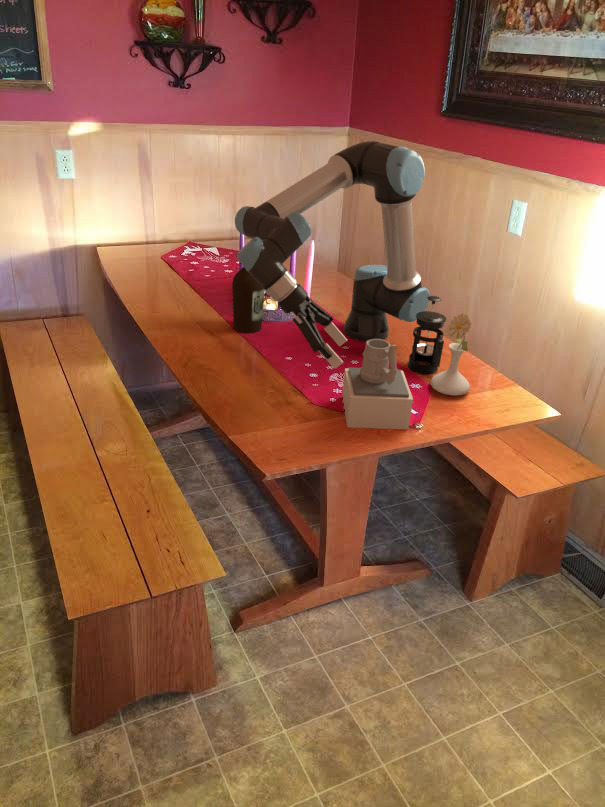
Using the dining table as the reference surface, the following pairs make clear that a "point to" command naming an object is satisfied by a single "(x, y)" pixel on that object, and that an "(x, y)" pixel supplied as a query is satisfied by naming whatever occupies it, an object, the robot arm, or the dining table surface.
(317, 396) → the dining table surface
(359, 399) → the stand
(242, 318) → the olive oil
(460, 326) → the flower in vase
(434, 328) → the french press
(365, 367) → the mug
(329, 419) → the dining table surface
